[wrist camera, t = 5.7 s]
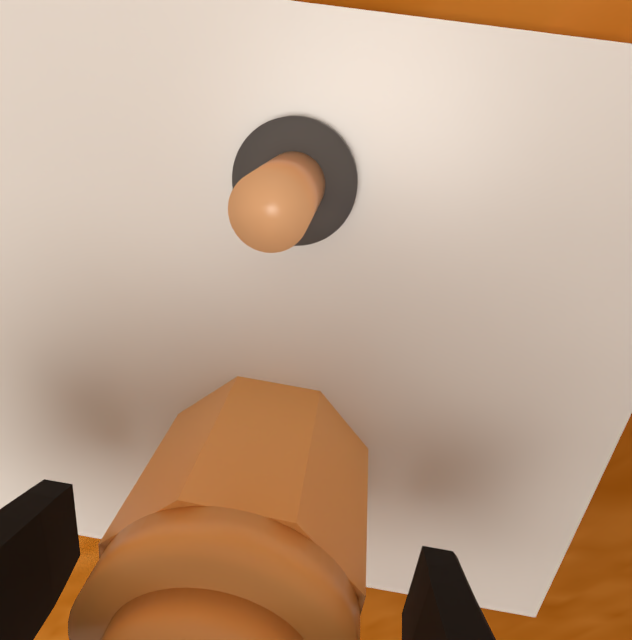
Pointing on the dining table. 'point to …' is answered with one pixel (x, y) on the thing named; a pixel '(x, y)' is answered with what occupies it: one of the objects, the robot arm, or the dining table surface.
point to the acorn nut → (238, 527)
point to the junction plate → (322, 258)
